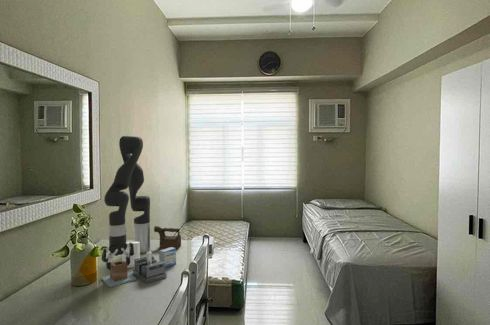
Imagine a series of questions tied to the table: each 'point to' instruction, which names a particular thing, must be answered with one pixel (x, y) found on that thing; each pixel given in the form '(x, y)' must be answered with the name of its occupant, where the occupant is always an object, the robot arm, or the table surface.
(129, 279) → the slate mat
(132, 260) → the white tapered container
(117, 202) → the robot arm
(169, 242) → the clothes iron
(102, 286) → the table surface
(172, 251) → the medicine box
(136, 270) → the vise
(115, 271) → the walnut collar
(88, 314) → the table surface
